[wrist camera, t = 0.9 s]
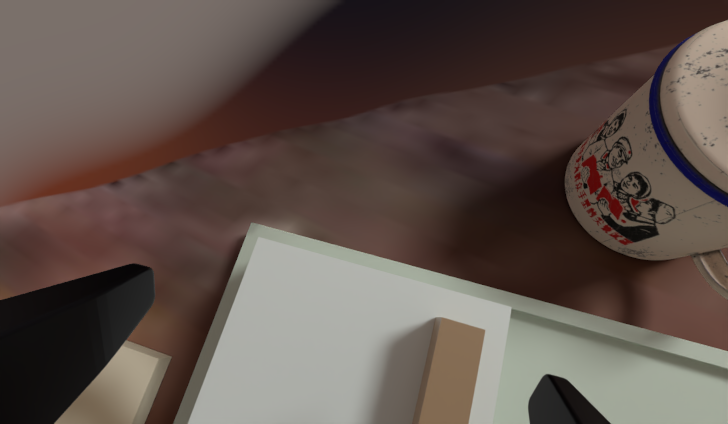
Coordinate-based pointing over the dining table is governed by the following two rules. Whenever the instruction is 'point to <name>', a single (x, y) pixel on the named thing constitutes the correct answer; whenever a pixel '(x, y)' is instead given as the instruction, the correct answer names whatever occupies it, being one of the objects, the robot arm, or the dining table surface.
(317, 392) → the frosted cover
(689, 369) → the propagator bed
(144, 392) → the birch coaster
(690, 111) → the teacup with lid
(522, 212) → the dining table surface
